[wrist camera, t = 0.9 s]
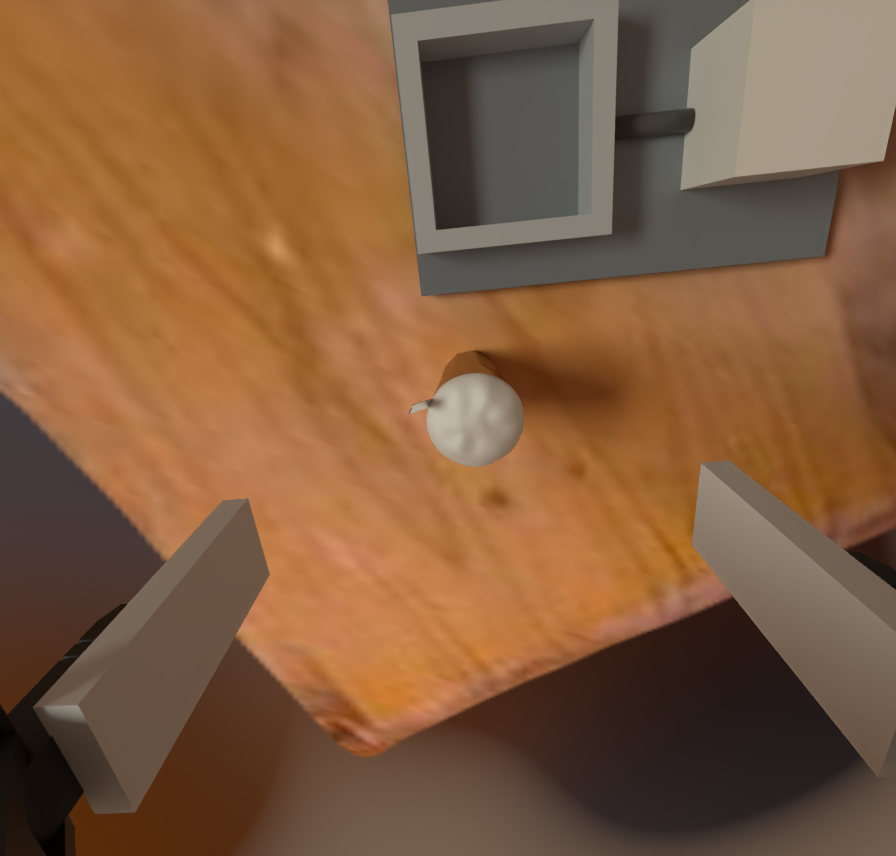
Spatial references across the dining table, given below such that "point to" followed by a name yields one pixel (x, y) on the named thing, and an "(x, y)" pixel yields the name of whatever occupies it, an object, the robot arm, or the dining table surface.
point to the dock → (632, 132)
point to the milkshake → (473, 412)
